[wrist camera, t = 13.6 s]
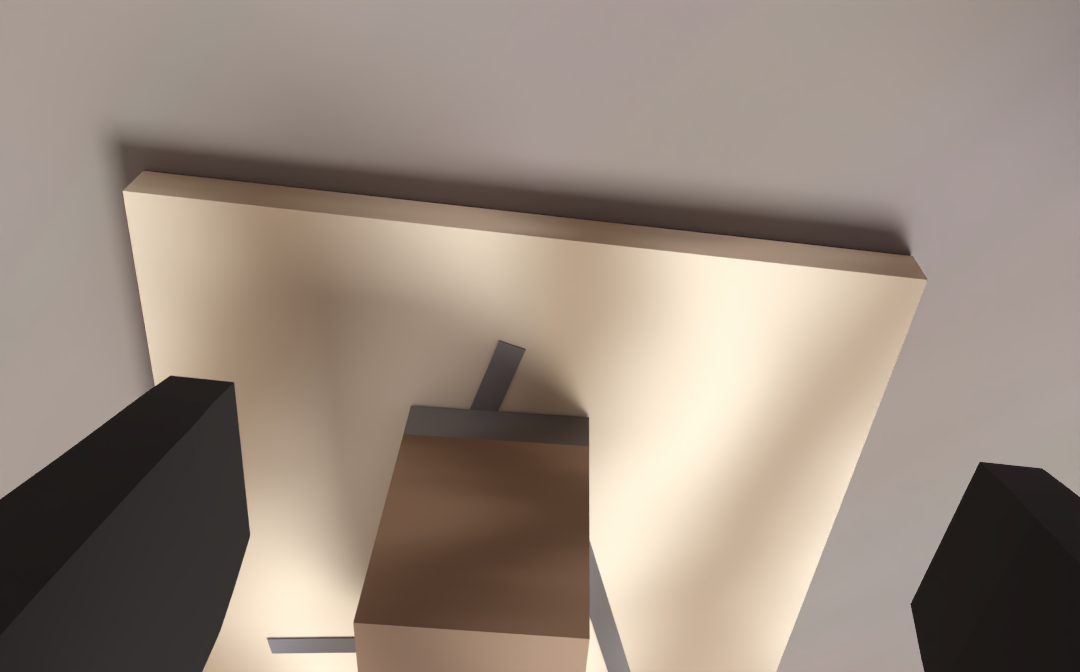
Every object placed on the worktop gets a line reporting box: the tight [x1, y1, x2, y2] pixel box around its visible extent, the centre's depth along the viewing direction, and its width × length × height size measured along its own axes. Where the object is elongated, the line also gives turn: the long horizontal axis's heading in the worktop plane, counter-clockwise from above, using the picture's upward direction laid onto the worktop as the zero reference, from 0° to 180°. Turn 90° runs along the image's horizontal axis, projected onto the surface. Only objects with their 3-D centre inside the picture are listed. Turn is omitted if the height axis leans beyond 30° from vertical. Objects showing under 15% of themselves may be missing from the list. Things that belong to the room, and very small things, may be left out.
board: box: [123, 171, 927, 672], centre depth 23 cm, size 16×18×1 cm
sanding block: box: [353, 406, 590, 672], centre depth 20 cm, size 4×8×6 cm, turn 177°
